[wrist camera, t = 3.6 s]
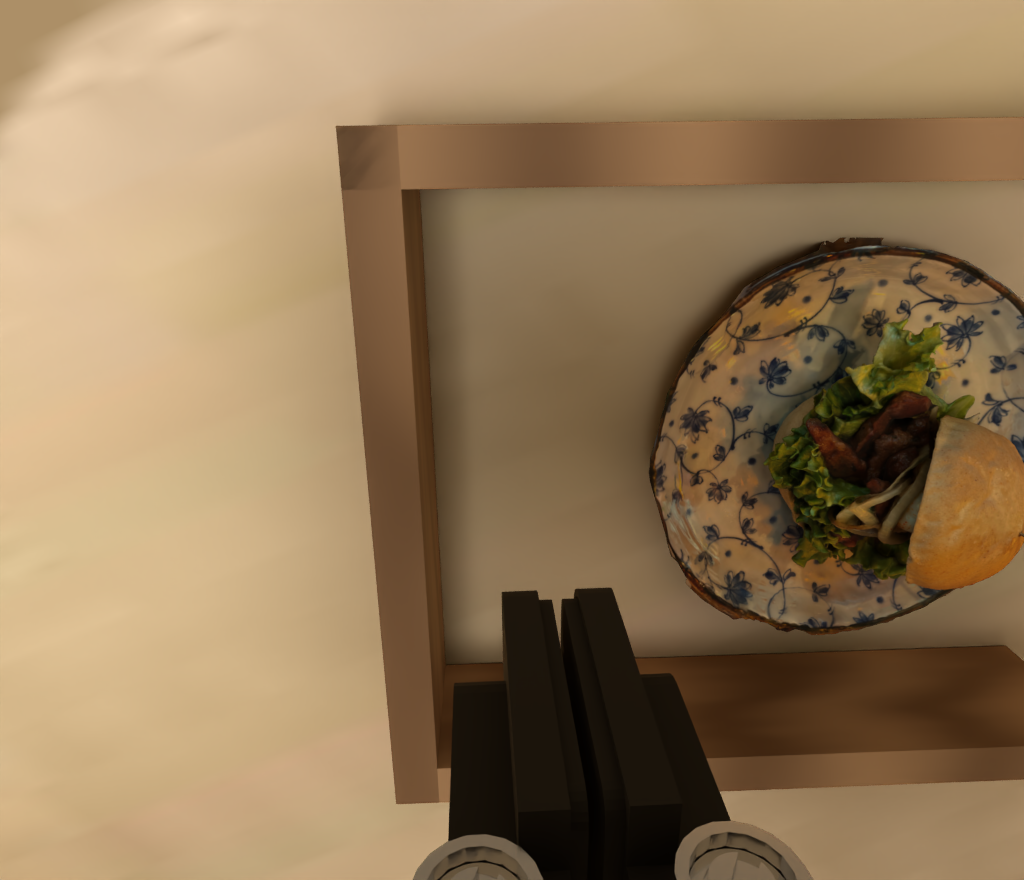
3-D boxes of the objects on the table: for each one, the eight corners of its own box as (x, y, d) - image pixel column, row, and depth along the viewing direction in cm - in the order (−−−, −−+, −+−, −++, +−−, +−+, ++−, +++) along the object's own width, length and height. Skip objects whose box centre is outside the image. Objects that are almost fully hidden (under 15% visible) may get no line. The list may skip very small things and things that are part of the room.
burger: (787, 157, 19) (958, 145, 12) (1105, 359, 22) (1403, 446, 15) (564, 516, 23) (599, 667, 16) (859, 659, 25) (1005, 847, 18)
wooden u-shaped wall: (1140, 127, 19) (1326, 113, 15) (998, 675, 25) (1102, 776, 21) (369, 137, 19) (336, 125, 14) (411, 695, 24) (396, 804, 20)
